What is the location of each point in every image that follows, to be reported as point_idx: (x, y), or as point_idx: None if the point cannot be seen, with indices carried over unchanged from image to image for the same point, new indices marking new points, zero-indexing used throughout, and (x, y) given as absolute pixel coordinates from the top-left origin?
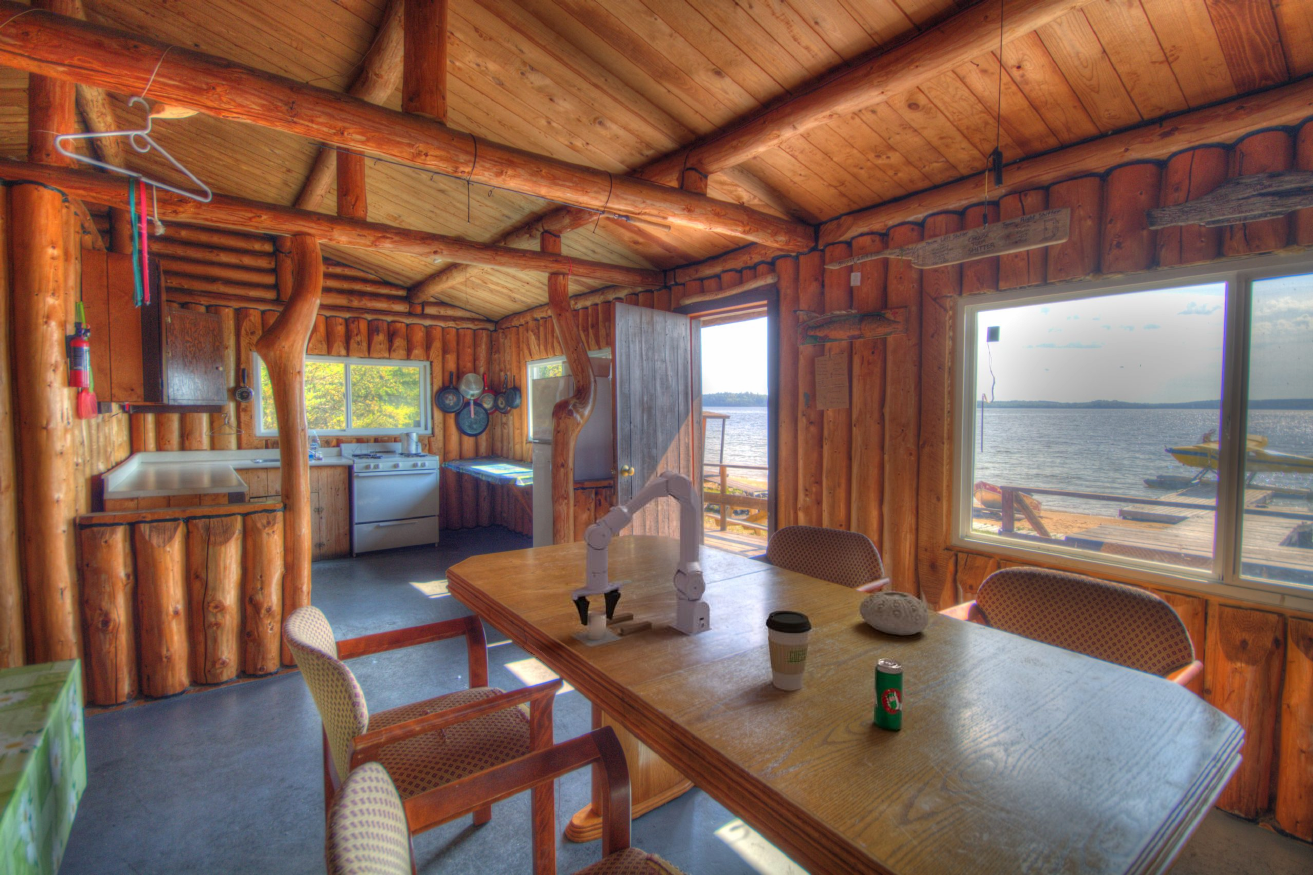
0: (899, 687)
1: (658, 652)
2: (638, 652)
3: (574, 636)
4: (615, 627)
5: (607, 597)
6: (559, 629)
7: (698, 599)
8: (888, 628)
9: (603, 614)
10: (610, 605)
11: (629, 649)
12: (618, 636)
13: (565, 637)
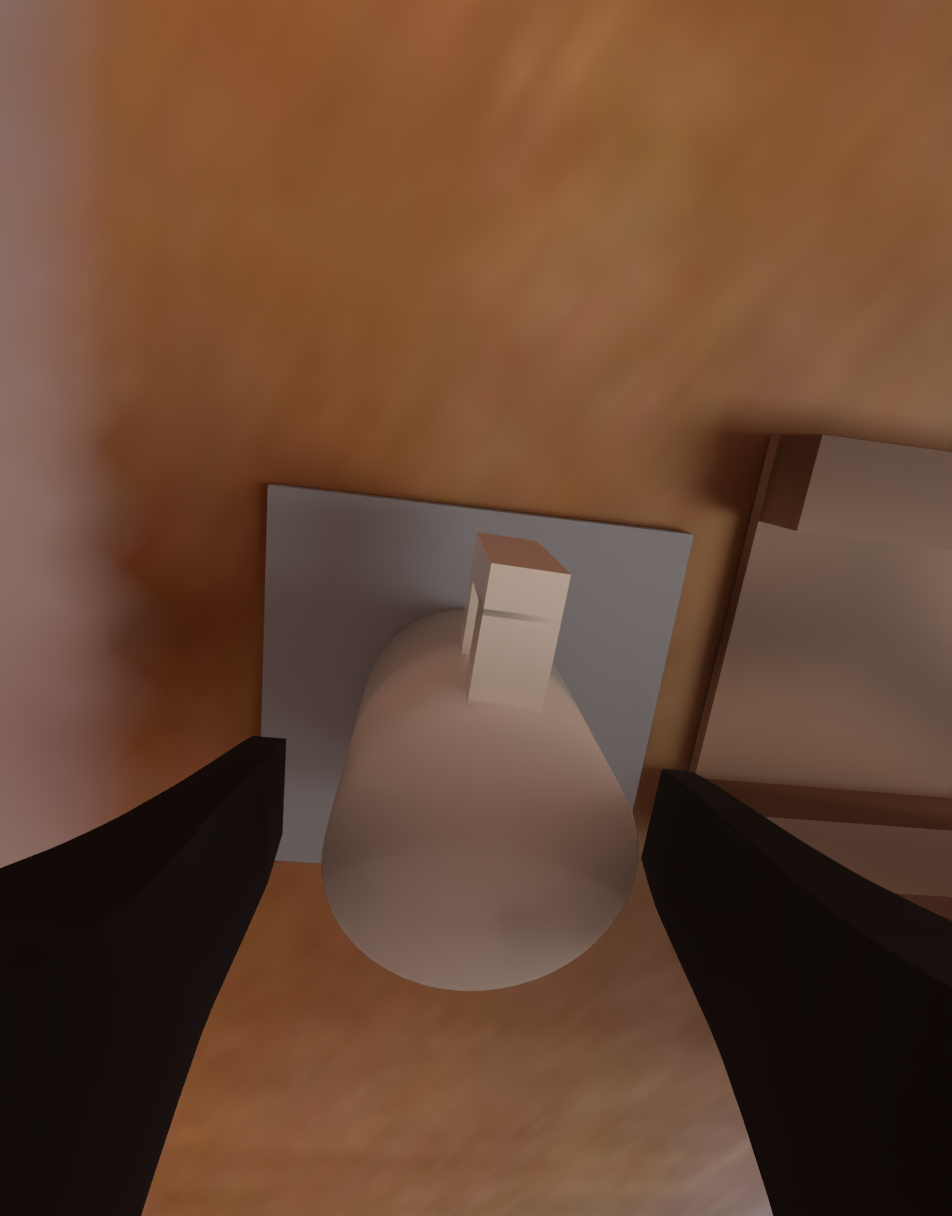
0: None
1: (622, 1165)
2: (520, 1101)
3: (283, 544)
4: (786, 622)
5: (869, 1092)
6: (290, 145)
7: None
8: None
9: (552, 932)
10: (745, 1040)
11: (510, 1033)
12: None
13: (213, 456)
